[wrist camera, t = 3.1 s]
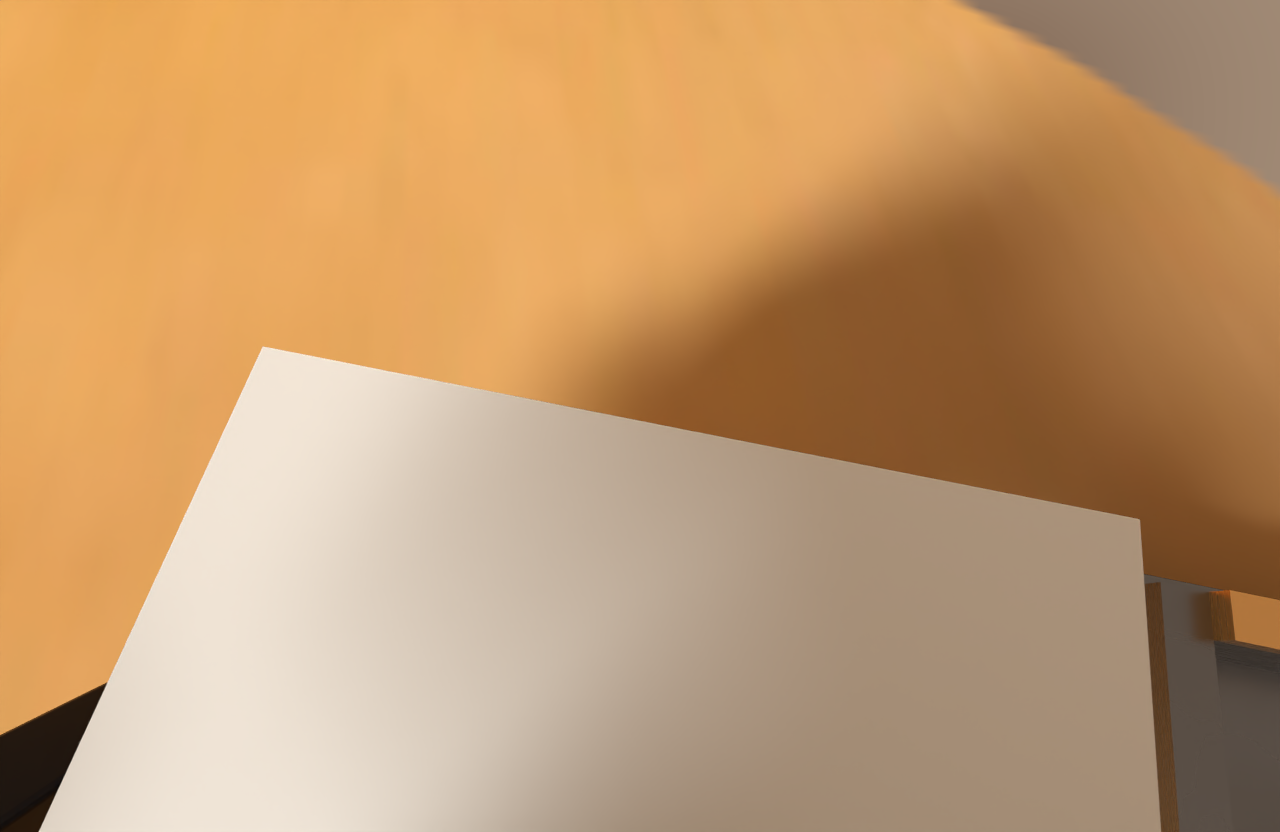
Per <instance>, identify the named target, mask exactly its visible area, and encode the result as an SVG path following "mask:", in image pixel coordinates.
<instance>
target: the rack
mask: <svg viewBox="0 0 1280 832" xmlns="http://www.w3.org/2000/svg"><path fill="white" fill-rule="evenodd" d="M1144 586H1145V601H1146V616H1147V630H1148V645H1149V660H1150V675H1151V690H1152V704H1153V719H1154V734H1155V749H1156V763H1157V778H1158V793H1159V808H1160V822H1161V832H1280V600H1277V599H1272V598H1267V597H1262V596H1257V595H1252V594H1247V593H1242V592H1237V591H1232V590H1220V589H1215V588H1210V587H1205V586H1200V585H1195V584H1190V583H1186V582H1181V581H1176V580H1171V579H1166V578H1161V577H1156V576H1151V575H1146V574H1144Z"/></svg>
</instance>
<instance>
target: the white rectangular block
mask: <svg viewBox="0 0 1280 832" xmlns="http://www.w3.org/2000/svg"><path fill="white" fill-rule="evenodd" d="M39 832H1161V822H1160V808H1159V793H1158V778H1157V763H1156V749H1155V734H1154V719H1153V704H1152V690H1151V675H1150V660H1149V645H1148V630H1147V616H1146V601H1145V586H1144V571H1143V557H1142V542H1141V527H1140V519H1136V518H1131V517H1126V516H1121V515H1116V514H1111V513H1106V512H1101V511H1096V510H1091V509H1086V508H1080V507H1075V506H1070V505H1065V504H1060V503H1055V502H1050V501H1045V500H1040V499H1035V498H1030V497H1025V496H1020V495H1014V494H1009V493H1004V492H999V491H994V490H989V489H984V488H979V487H974V486H969V485H964V484H959V483H954V482H948V481H943V480H938V479H933V478H928V477H923V476H918V475H913V474H908V473H903V472H898V471H893V470H887V469H882V468H877V467H872V466H867V465H862V464H857V463H852V462H847V461H842V460H837V459H832V458H827V457H821V456H816V455H811V454H806V453H801V452H796V451H791V450H786V449H781V448H776V447H771V446H766V445H761V444H755V443H750V442H745V441H740V440H735V439H730V438H725V437H720V436H715V435H710V434H705V433H700V432H695V431H689V430H684V429H679V428H674V427H669V426H664V425H659V424H654V423H649V422H644V421H639V420H634V419H628V418H623V417H618V416H613V415H608V414H603V413H598V412H593V411H588V410H583V409H578V408H573V407H568V406H562V405H557V404H552V403H547V402H542V401H537V400H532V399H527V398H522V397H517V396H512V395H507V394H502V393H496V392H491V391H486V390H481V389H476V388H471V387H466V386H461V385H456V384H451V383H446V382H441V381H436V380H430V379H425V378H420V377H415V376H410V375H405V374H400V373H395V372H390V371H385V370H380V369H375V368H370V367H364V366H359V365H354V364H349V363H344V362H339V361H334V360H329V359H324V358H319V357H314V356H309V355H304V354H298V353H293V352H288V351H283V350H278V349H273V348H268V347H262V350H261V352H260V354H259V356H258V358H257V360H256V363H255V365H254V367H253V369H252V371H251V373H250V376H249V378H248V380H247V382H246V384H245V386H244V389H243V391H242V393H241V395H240V397H239V399H238V402H237V404H236V406H235V408H234V410H233V412H232V415H231V417H230V419H229V421H228V423H227V425H226V427H225V430H224V432H223V434H222V436H221V438H220V440H219V443H218V445H217V447H216V449H215V451H214V453H213V456H212V458H211V460H210V462H209V464H208V466H207V469H206V471H205V473H204V475H203V477H202V479H201V482H200V484H199V486H198V488H197V490H196V492H195V495H194V497H193V499H192V501H191V503H190V505H189V508H188V510H187V512H186V514H185V516H184V518H183V521H182V523H181V525H180V527H179V529H178V531H177V534H176V536H175V538H174V540H173V542H172V544H171V547H170V549H169V551H168V553H167V555H166V557H165V560H164V562H163V564H162V566H161V568H160V570H159V573H158V575H157V577H156V579H155V581H154V583H153V586H152V588H151V590H150V592H149V594H148V596H147V599H146V601H145V603H144V605H143V607H142V609H141V612H140V614H139V616H138V618H137V620H136V622H135V624H134V627H133V629H132V631H131V633H130V635H129V637H128V640H127V642H126V644H125V646H124V648H123V650H122V653H121V655H120V657H119V659H118V661H117V663H116V666H115V668H114V670H113V672H112V674H111V676H110V679H109V681H108V683H107V685H106V687H105V689H104V692H103V694H102V696H101V698H100V700H99V702H98V705H97V707H96V709H95V711H94V713H93V715H92V718H91V720H90V722H89V724H88V726H87V728H86V731H85V733H84V735H83V737H82V739H81V741H80V744H79V746H78V748H77V750H76V752H75V754H74V757H73V759H72V761H71V763H70V765H69V767H68V770H67V772H66V774H65V776H64V778H63V780H62V783H61V785H60V787H59V789H58V791H57V793H56V796H55V798H54V800H53V802H52V804H51V806H50V808H49V811H48V813H47V815H46V817H45V819H44V821H43V824H42V826H41V828H40V830H39Z"/></svg>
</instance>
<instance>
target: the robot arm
mask: <svg viewBox="0 0 1280 832" xmlns="http://www.w3.org/2000/svg"><path fill="white" fill-rule="evenodd" d="M107 683H108V682H107ZM107 683H105V684H103V685H101V686H99V687H97V688H95V689H93V690H91V691H89V692H87V693H85V694H83V695H81V696H78V697H76V698H74V699H72V700H70V701H68V702H66V703H64V704H62V705H60V706H58V707H56V708H54V709H52V710H50V711H48V712H46V713H44V714H42V715H40V716H38V717H36V718H34V719H32V720H30V721H28V722H26V723H24V724H22V725H20V726H18V727H16V728H14V729H12V730H10V731H8V732H6V733H3V734H1V735H0V832H39V830H40V828H41V826H42V824H43V821H44V819H45V817H46V815H47V813H48V811H49V808H50V806H51V804H52V802H53V800H54V798H55V796H56V793H57V791H58V789H59V787H60V785H61V783H62V780H63V778H64V776H65V774H66V772H67V770H68V767H69V765H70V763H71V761H72V759H73V757H74V754H75V752H76V750H77V748H78V746H79V744H80V741H81V739H82V737H83V735H84V733H85V731H86V728H87V726H88V724H89V722H90V720H91V718H92V715H93V713H94V711H95V709H96V707H97V705H98V702H99V700H100V698H101V696H102V694H103V692H104V689H105V687H106V685H107Z"/></svg>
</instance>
